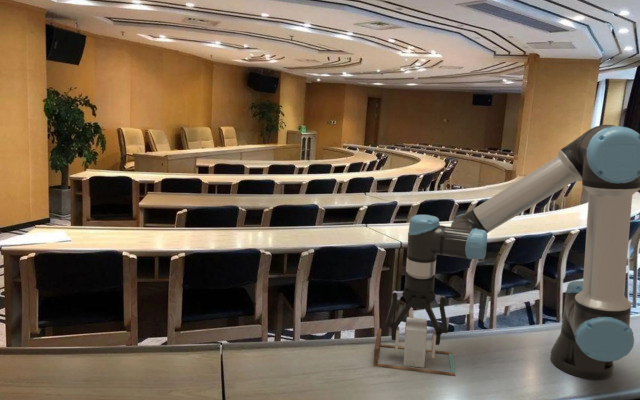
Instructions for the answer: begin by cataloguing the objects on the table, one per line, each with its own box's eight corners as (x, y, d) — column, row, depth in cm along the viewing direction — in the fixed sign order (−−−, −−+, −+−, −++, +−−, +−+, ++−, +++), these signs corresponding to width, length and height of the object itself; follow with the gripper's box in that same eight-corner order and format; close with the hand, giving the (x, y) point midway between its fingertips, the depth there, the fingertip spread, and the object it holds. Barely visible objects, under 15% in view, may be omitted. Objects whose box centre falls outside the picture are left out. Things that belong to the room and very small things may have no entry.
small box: (424, 368, 132) (427, 331, 130) (402, 365, 133) (405, 329, 131) (424, 353, 140) (427, 318, 138) (404, 351, 141) (406, 316, 139)
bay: (452, 353, 141) (453, 336, 140) (455, 376, 129) (457, 358, 128) (376, 344, 144) (377, 328, 143) (373, 366, 133) (374, 348, 132)
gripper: (461, 273, 133) (454, 350, 138) (379, 265, 137) (375, 341, 142) (464, 282, 126) (456, 364, 131) (377, 274, 130) (373, 354, 135)
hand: (414, 352), depth 136 cm, fingers open, 9 cm apart
